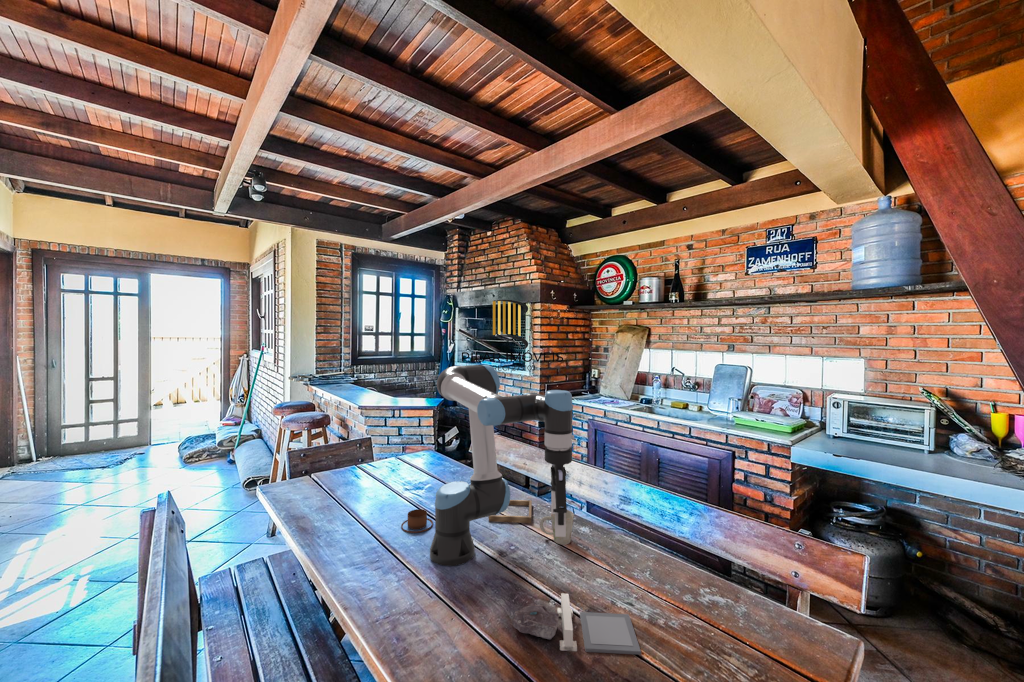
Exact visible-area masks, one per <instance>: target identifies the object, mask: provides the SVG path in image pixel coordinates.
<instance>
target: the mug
mask: <svg viewBox="0 0 1024 682" xmlns="http://www.w3.org/2000/svg"><path fill="white" fill-rule="evenodd" d="M574 516H575V514H574V512H573V511H571V510H569V509H567V513H566V537H555V514H551V513H550V516H548V515H547V516H543V517H542V518H541V519H540V520H539V528H540V530H541V531H542V532H543V533H544V534H545V535H551V536H553V541H554V542H555V543H556V544H558V545H568V544H570V542H571V541H572V540H571V539H572V532H573V525H574ZM545 521H551V527H552V531H547V530H546V529H545V527H544V523H545Z"/></svg>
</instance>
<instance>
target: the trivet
mask: <svg viewBox="0 0 1024 682" xmlns="http://www.w3.org/2000/svg"><path fill="white" fill-rule="evenodd" d="M579 618H580V623H581V624H580V625H581V631H582V638H583V645H584V650H585V652H586V653H601V654H621V655H639V656H641V655H642V650H641V646H640V644H639V642H638V638H637V636H636V635H637V634H636V632H635V629H634V626H633V622H632V620H631V617H630V614H629V613H608V612H587V611H580V612H579Z"/></svg>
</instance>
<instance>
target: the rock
mask: <svg viewBox="0 0 1024 682" xmlns="http://www.w3.org/2000/svg"><path fill="white" fill-rule="evenodd" d="M559 617H560V616H559V614H558V613H557V612H554V611H552V610H548V609H547V608H546V607H545V606H544V605H542V604H531V605H527V606H526V605H525V606H524V607H522V608H521V609H519V610H515V611H514V616H513V619H512V626H513V628H514V629H515V630H516V629H517V630H518V631H519V633H522V634H530V635H531V636H535V637H538V638H539V637H540V638H542V639H547V640H552V638H554V636H555V635H556V632H557V631H558V630H557V629H558V626H559Z"/></svg>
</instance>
